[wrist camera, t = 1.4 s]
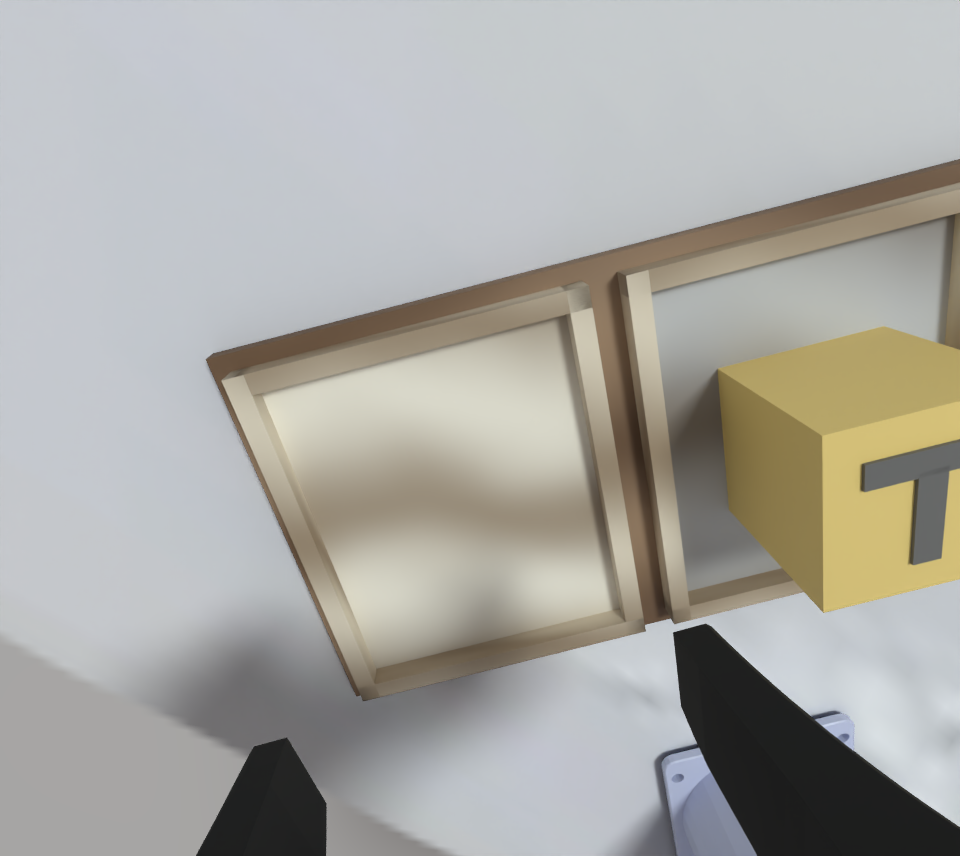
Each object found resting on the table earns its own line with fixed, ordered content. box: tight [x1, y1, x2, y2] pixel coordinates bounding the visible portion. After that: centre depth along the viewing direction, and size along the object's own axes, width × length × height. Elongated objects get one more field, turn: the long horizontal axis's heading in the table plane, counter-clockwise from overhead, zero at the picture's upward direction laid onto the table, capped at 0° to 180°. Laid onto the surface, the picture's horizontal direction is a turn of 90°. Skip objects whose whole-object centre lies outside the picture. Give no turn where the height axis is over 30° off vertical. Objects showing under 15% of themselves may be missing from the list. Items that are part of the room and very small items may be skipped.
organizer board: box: [206, 159, 960, 701], centre depth 18 cm, size 13×31×1 cm, turn 104°
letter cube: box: [718, 326, 960, 613], centre depth 16 cm, size 5×5×5 cm
